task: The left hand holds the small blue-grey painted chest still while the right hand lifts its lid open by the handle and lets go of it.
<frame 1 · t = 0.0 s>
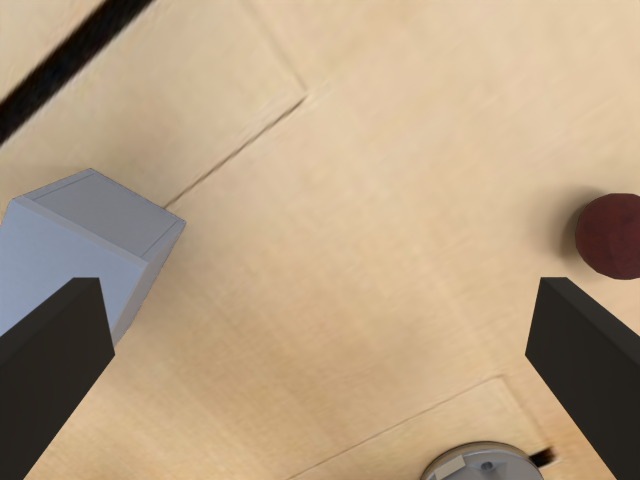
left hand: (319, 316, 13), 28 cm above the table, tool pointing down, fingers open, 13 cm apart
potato: (596, 221, 41), on the table
chest: (110, 254, 43), on the table
lid: (17, 335, 30), point 14 cm above the table, hinge at 0.0°
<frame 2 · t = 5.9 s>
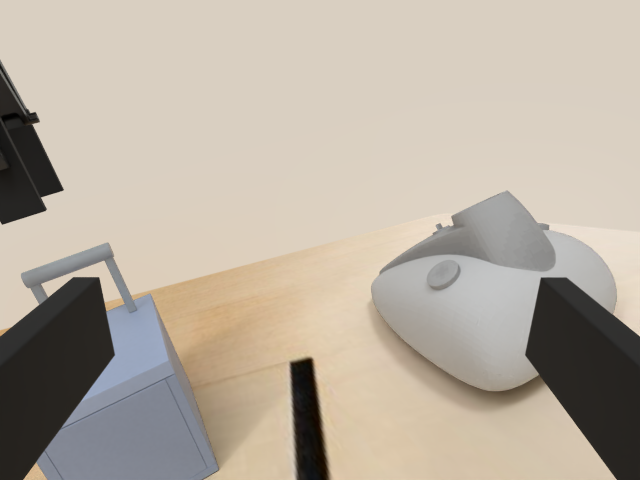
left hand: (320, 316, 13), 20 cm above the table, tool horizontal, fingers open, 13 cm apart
projector: (464, 327, 43), on the table
chest: (150, 446, 39), on the table
lid: (83, 317, 34), point 14 cm above the table, hinge at 0.0°
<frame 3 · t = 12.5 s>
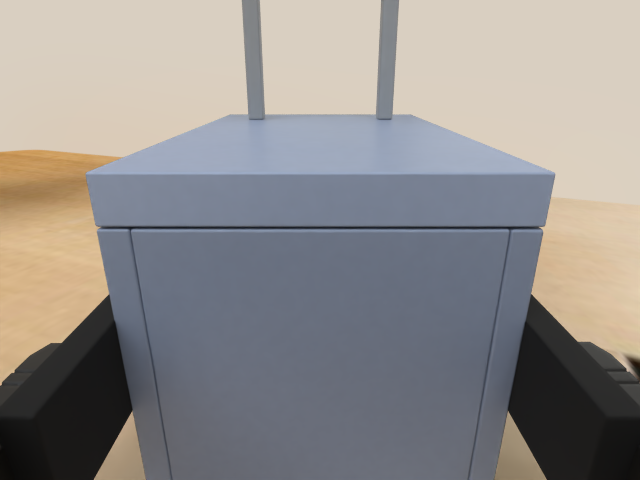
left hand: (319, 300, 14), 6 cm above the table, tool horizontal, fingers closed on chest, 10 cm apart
chest: (320, 376, 19), on the table, touching left hand
lid: (320, 46, 15), point 14 cm above the table, hinge at 0.0°
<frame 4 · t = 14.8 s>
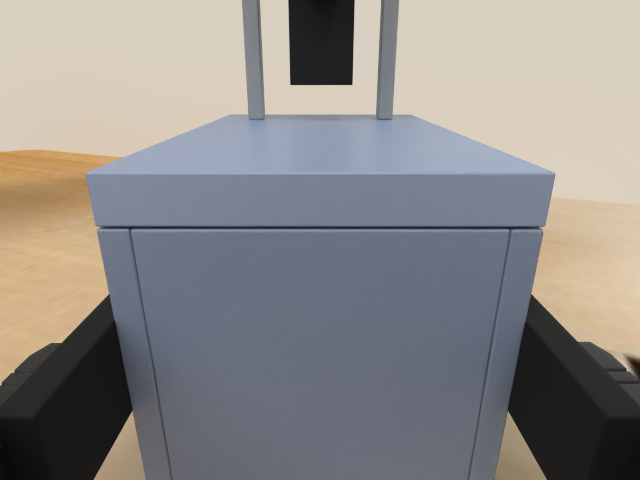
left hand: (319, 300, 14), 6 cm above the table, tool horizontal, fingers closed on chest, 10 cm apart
chest: (320, 376, 19), on the table, touching left hand
lid: (320, 46, 15), point 14 cm above the table, hinge at 0.0°, touching right hand
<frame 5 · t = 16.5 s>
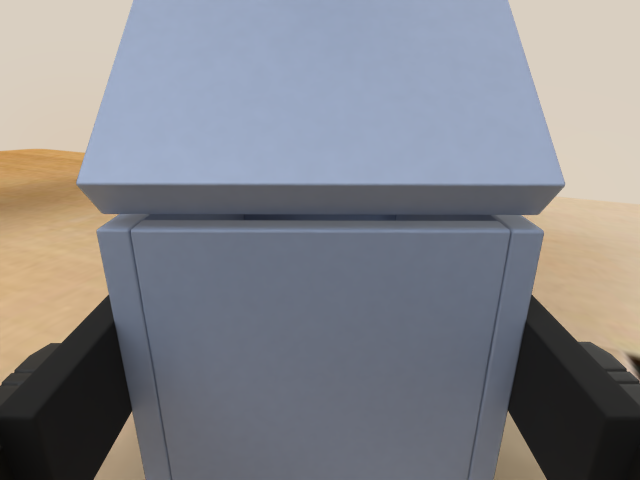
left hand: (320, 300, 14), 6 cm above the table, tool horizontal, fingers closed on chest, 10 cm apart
chest: (319, 375, 19), on the table, touching left hand
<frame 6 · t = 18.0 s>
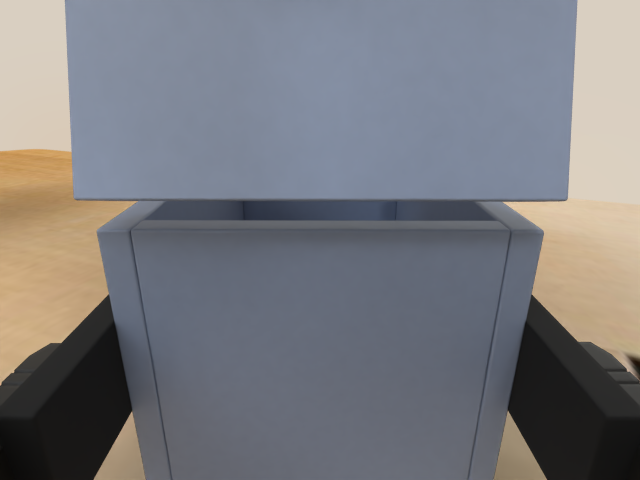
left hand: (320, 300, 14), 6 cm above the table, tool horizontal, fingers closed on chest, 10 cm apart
chest: (319, 375, 19), on the table, touching left hand
when the left hand's fingers open (6 cm above the table, at t = 21.9 s): chest stays where it is, on the table.
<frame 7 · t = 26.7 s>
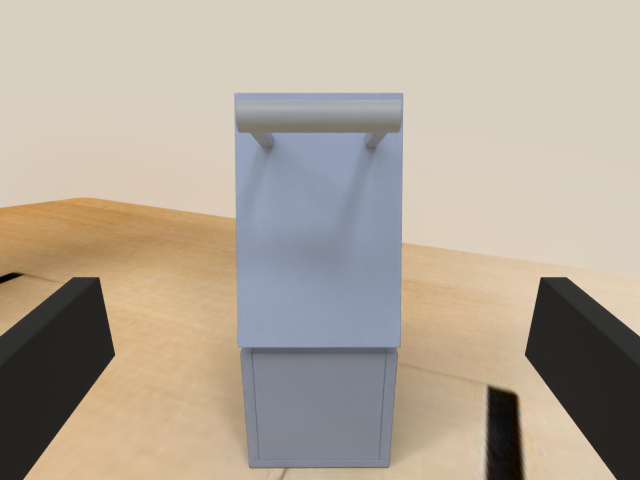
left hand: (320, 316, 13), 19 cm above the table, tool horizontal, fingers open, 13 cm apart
chest: (319, 397, 37), on the table
lid: (319, 223, 22), point 19 cm above the table, hinge at 72.6°
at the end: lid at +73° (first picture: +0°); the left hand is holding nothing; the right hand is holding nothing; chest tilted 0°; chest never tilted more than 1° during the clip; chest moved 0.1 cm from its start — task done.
